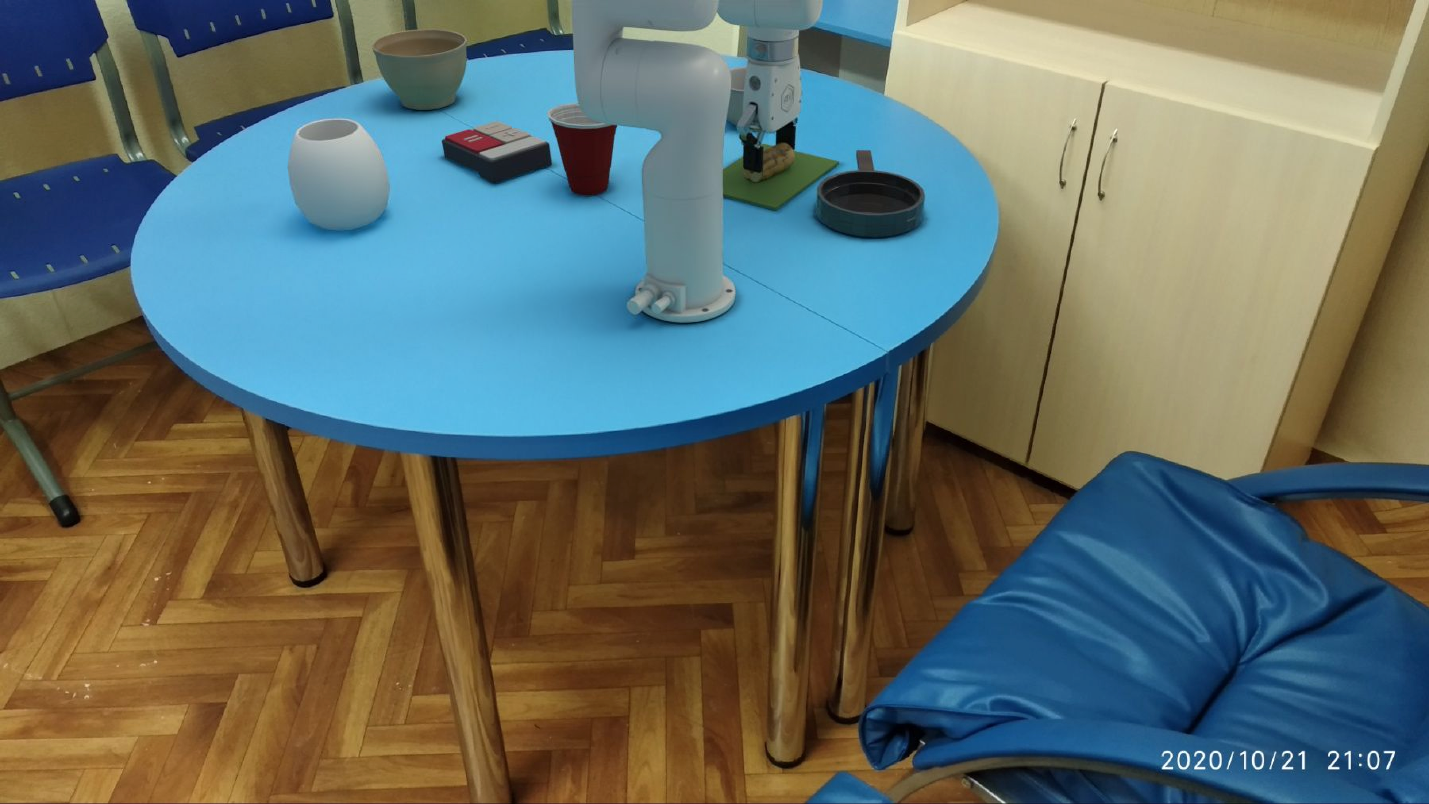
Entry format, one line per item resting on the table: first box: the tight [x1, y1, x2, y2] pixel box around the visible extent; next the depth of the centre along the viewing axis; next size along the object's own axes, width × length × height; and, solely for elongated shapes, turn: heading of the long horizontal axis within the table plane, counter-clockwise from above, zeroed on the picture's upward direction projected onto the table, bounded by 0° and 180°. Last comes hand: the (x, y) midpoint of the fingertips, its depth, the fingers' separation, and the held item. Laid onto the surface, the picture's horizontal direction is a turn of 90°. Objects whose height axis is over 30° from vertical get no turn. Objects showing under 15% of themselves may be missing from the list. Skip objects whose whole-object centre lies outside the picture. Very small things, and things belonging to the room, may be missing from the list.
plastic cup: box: [546, 102, 618, 197], centre depth 157 cm, size 11×11×12 cm
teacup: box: [726, 66, 761, 127], centre depth 180 cm, size 14×11×8 cm
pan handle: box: [855, 149, 875, 170], centre depth 159 cm, size 8×2×1 cm, turn 177°
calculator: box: [441, 120, 553, 184], centre depth 168 cm, size 11×4×15 cm
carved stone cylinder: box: [743, 143, 795, 182], centre depth 162 cm, size 8×4×4 cm, turn 135°
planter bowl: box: [371, 28, 468, 111], centre depth 188 cm, size 16×16×11 cm
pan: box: [815, 169, 926, 238], centre depth 151 cm, size 15×15×4 cm
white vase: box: [287, 117, 391, 231], centre depth 148 cm, size 13×13×14 cm
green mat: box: [723, 143, 840, 212], centre depth 163 cm, size 20×14×1 cm
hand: (769, 159), depth 161 cm, fingers open, 9 cm apart
